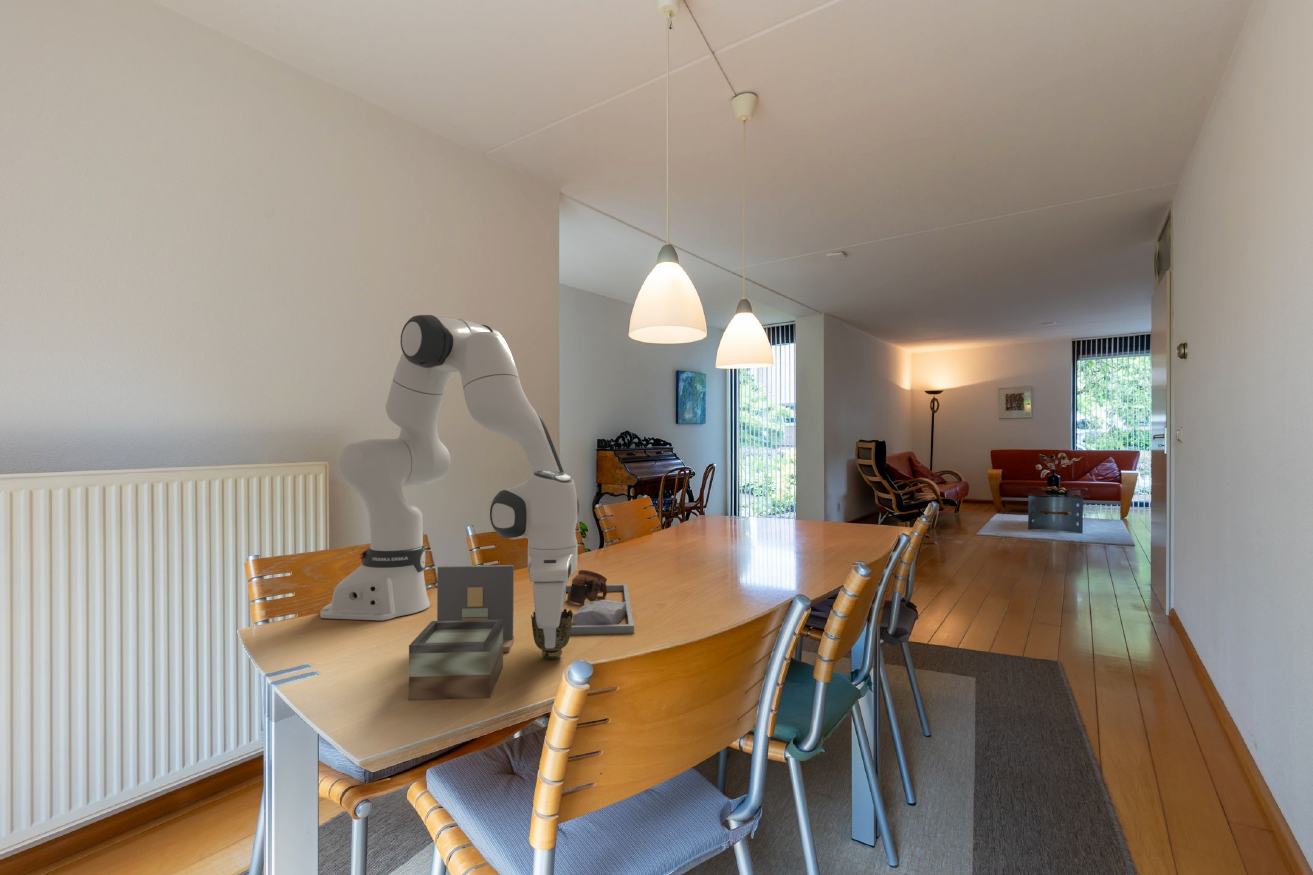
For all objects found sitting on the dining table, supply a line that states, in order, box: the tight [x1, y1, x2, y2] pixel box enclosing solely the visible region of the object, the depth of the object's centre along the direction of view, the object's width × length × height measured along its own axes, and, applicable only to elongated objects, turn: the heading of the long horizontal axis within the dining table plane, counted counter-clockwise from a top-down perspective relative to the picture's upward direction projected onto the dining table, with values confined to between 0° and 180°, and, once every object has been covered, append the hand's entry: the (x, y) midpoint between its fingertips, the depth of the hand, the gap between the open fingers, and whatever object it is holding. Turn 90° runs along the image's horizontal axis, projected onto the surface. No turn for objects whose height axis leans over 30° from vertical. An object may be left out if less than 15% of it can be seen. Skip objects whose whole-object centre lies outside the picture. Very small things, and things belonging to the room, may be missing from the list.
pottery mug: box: [566, 569, 608, 606], centre depth 145 cm, size 12×10×8 cm
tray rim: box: [566, 583, 635, 636], centre depth 137 cm, size 17×34×2 cm, turn 5°
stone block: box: [572, 599, 627, 626], centre depth 129 cm, size 12×5×10 cm
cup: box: [530, 608, 574, 661], centre depth 108 cm, size 8×7×8 cm
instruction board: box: [436, 564, 515, 653], centre depth 112 cm, size 14×6×15 cm, turn 95°
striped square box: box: [408, 620, 504, 701], centre depth 96 cm, size 12×12×8 cm
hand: (552, 637), depth 107 cm, fingers open, 8 cm apart
